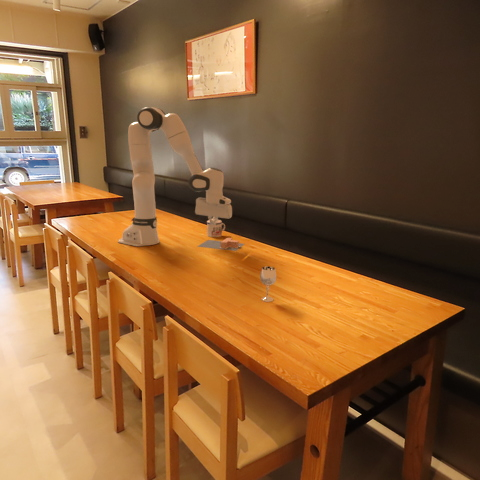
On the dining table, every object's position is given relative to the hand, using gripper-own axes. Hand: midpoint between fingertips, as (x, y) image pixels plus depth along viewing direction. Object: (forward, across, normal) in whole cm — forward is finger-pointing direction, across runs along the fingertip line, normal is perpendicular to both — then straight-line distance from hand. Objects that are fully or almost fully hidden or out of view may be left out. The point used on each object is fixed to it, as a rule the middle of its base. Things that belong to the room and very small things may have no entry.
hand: (212, 224), depth 212 cm
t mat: (+11, +6, +1) cm, 13 cm away
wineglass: (+11, +48, -60) cm, 78 cm away
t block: (+10, +11, +1) cm, 15 cm away
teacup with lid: (+12, -6, +21) cm, 24 cm away
